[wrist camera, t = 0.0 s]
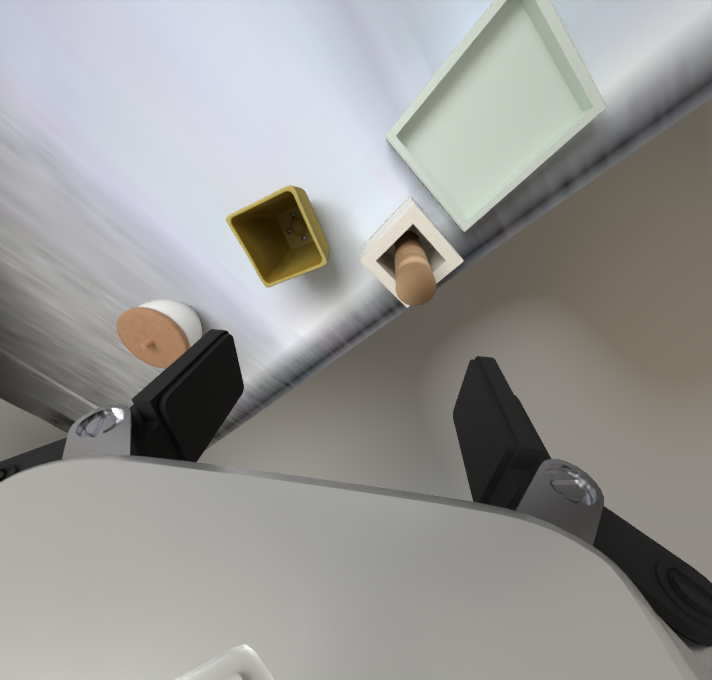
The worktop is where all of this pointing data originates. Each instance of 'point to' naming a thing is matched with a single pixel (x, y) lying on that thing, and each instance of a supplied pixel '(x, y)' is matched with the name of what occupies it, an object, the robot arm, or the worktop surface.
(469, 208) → the tray
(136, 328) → the lidded jar
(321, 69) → the worktop surface
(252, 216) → the flower pot
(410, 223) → the white square holder
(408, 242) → the dowel
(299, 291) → the worktop surface
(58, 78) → the worktop surface
